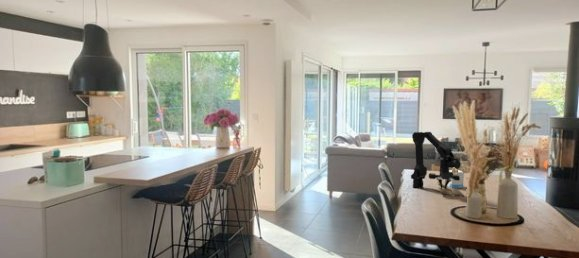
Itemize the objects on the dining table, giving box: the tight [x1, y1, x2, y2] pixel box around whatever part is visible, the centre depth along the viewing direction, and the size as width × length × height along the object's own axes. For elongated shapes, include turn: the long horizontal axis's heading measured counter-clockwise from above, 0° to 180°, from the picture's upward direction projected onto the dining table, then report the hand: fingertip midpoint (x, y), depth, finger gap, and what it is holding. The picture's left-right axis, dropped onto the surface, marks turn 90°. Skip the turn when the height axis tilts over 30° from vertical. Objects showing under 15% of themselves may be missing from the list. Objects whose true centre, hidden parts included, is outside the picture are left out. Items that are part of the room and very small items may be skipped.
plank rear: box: [436, 181, 451, 191], centre depth 280 cm, size 9×7×1 cm
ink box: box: [447, 169, 465, 189], centre depth 292 cm, size 9×8×13 cm
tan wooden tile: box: [449, 187, 464, 198], centre depth 273 cm, size 6×18×1 cm, turn 168°
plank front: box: [437, 186, 454, 197], centre depth 270 cm, size 9×7×1 cm
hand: (443, 189), depth 269 cm, fingers closed
